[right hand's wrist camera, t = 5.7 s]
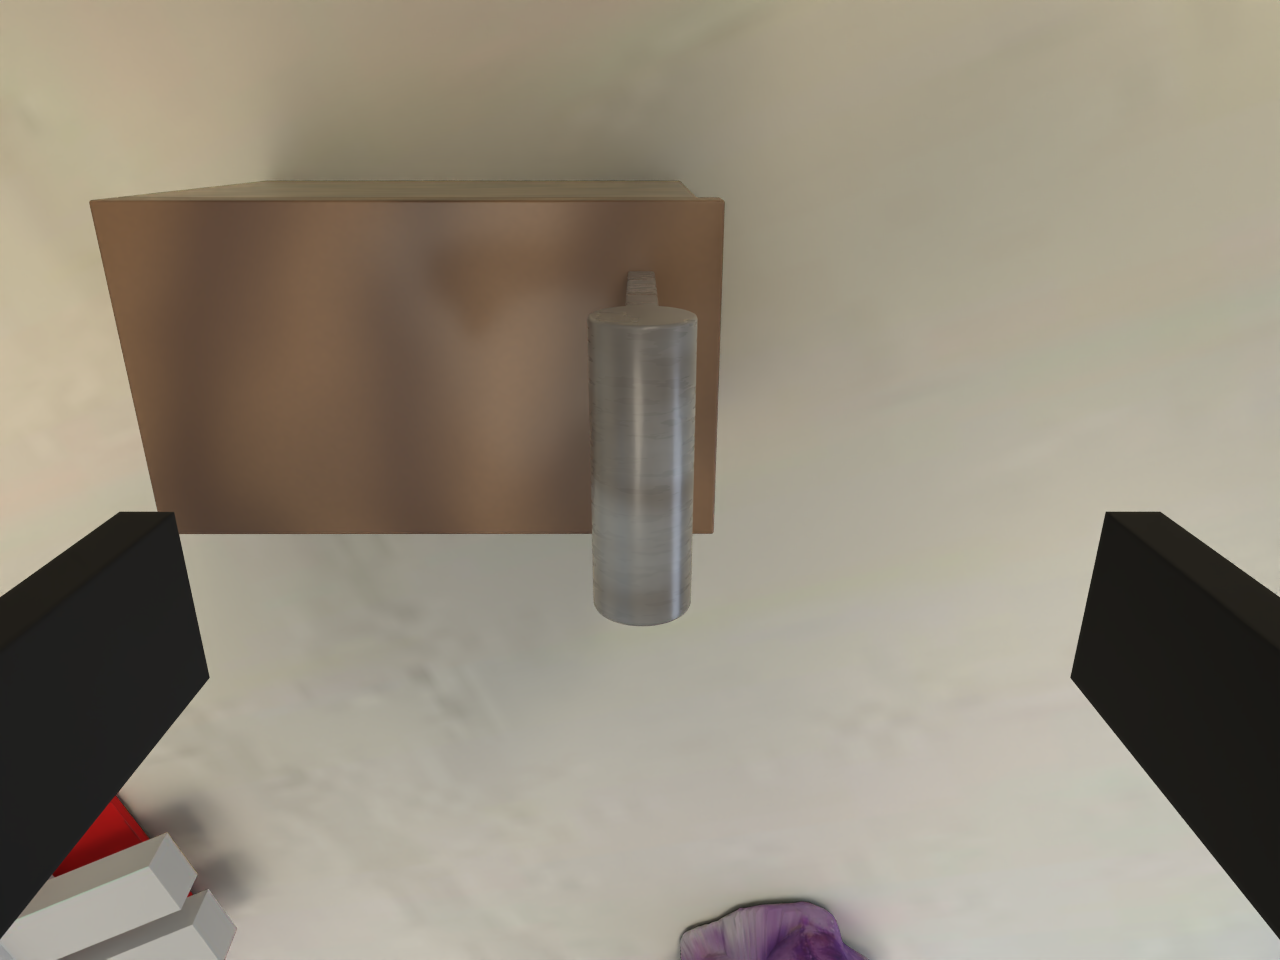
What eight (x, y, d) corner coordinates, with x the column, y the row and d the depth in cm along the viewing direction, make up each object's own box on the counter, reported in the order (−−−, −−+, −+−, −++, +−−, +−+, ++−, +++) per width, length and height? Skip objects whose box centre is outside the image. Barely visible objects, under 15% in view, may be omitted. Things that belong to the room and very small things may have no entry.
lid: (720, 196, 23) (767, 231, 15) (710, 518, 26) (744, 694, 18) (114, 197, 23) (-189, 230, 15) (181, 518, 26) (-32, 695, 18)
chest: (680, 180, 32) (697, 197, 23) (677, 418, 36) (690, 517, 27) (265, 180, 32) (115, 197, 23) (301, 419, 36) (182, 517, 27)
